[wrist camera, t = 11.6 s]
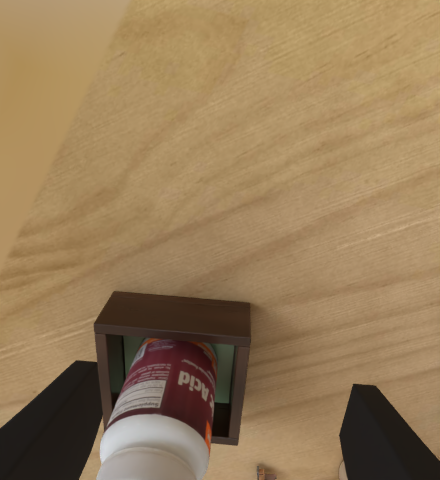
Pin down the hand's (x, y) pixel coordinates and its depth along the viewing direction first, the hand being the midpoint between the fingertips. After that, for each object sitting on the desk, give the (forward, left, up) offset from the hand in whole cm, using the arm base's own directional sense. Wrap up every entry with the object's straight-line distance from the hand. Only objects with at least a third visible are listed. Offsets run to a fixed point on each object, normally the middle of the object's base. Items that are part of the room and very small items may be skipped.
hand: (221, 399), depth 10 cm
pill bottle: (-7, +3, -9) cm, 11 cm away
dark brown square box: (-7, +3, -9) cm, 12 cm away
